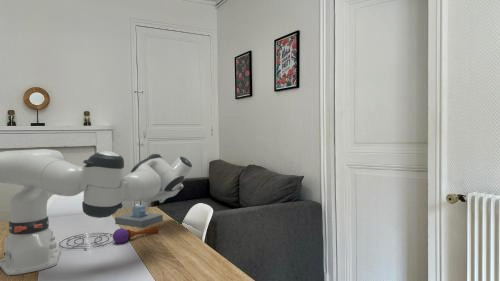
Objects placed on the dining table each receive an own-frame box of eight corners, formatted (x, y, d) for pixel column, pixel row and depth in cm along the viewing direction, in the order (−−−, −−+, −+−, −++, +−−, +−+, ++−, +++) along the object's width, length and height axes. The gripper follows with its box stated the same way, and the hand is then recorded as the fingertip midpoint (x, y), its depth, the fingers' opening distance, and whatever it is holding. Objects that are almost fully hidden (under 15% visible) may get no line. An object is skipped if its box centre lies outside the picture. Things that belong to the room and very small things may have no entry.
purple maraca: (161, 225, 151) (118, 232, 136) (159, 238, 151) (116, 247, 136) (153, 220, 155) (111, 227, 139) (151, 233, 155) (109, 241, 140)
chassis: (162, 220, 174) (162, 214, 174) (141, 227, 162) (141, 221, 162) (137, 216, 183) (137, 211, 183) (115, 223, 170) (115, 217, 170)
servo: (147, 222, 172) (147, 204, 172) (141, 223, 168) (140, 206, 168) (137, 220, 176) (136, 203, 175) (131, 222, 172) (130, 204, 172)
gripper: (156, 192, 152) (140, 212, 157) (186, 186, 170) (171, 204, 175) (148, 182, 154) (133, 202, 159) (178, 176, 172) (164, 195, 177)
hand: (153, 203), depth 168 cm, fingers open, 8 cm apart
